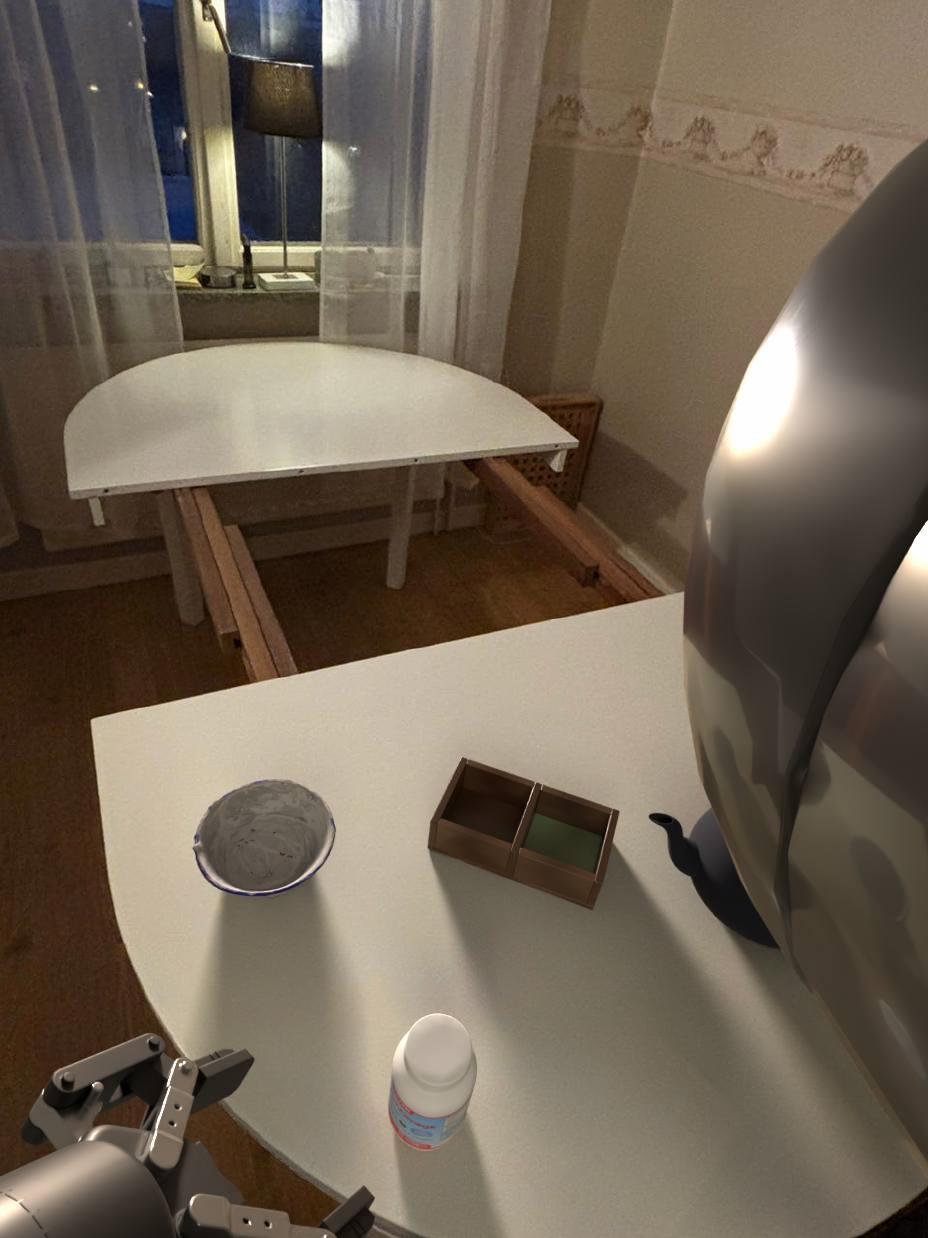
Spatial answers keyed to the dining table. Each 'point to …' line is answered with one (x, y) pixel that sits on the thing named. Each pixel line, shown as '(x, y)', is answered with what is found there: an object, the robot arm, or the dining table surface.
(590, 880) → the wooden compartment box
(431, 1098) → the pill bottle
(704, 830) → the teapot
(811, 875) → the robot arm
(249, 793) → the bowl
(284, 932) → the dining table surface
